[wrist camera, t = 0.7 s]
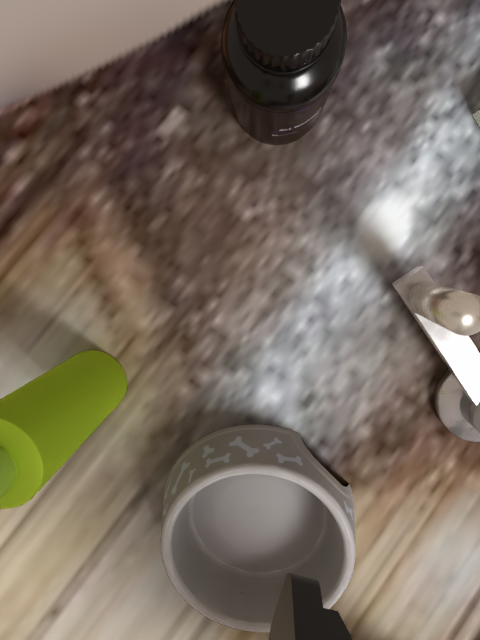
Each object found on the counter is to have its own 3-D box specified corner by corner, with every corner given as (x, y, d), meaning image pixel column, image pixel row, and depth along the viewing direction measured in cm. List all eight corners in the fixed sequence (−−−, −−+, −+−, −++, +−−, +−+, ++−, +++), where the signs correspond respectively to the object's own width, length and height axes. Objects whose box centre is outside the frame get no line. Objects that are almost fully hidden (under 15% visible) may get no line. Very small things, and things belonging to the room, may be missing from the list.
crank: (521, 410, 31) (611, 471, 23) (475, 435, 31) (547, 503, 23) (422, 257, 29) (481, 264, 21) (376, 288, 30) (416, 306, 21)
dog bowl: (253, 386, 34) (250, 413, 29) (392, 521, 35) (413, 569, 30) (129, 499, 37) (106, 542, 32) (261, 617, 39) (260, 677, 34)
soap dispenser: (43, 375, 35) (-248, 548, 15) (102, 338, 34) (-131, 474, 14) (80, 427, 36) (-151, 654, 16) (139, 392, 34) (-32, 592, 15)
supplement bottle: (295, 163, 29) (312, 113, 18) (217, 119, 29) (182, 39, 18) (342, 75, 28) (395, -43, 16) (261, 28, 28) (254, -126, 16)
